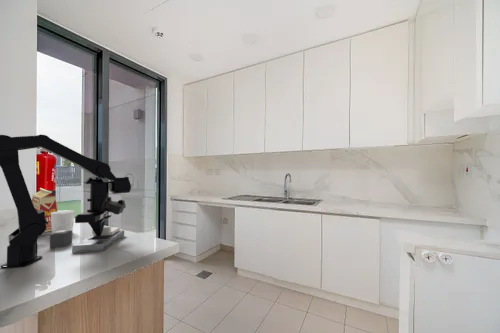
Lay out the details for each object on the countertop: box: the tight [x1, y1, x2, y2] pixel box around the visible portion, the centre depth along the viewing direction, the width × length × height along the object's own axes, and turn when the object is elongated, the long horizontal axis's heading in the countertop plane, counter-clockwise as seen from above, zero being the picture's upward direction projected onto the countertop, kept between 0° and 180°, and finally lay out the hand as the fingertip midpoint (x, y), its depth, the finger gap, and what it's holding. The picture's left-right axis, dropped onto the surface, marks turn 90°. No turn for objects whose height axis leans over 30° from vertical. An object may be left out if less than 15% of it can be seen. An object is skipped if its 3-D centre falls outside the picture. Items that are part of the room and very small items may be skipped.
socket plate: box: [71, 229, 125, 254], centre depth 81 cm, size 17×10×2 cm, turn 10°
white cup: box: [51, 209, 75, 234], centre depth 92 cm, size 8×8×10 cm
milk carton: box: [31, 187, 59, 233], centre depth 98 cm, size 9×9×20 cm
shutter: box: [91, 226, 121, 236], centre depth 85 cm, size 8×7×3 cm
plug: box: [49, 230, 73, 249], centre depth 79 cm, size 4×4×5 cm
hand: (98, 235), depth 79 cm, fingers closed
